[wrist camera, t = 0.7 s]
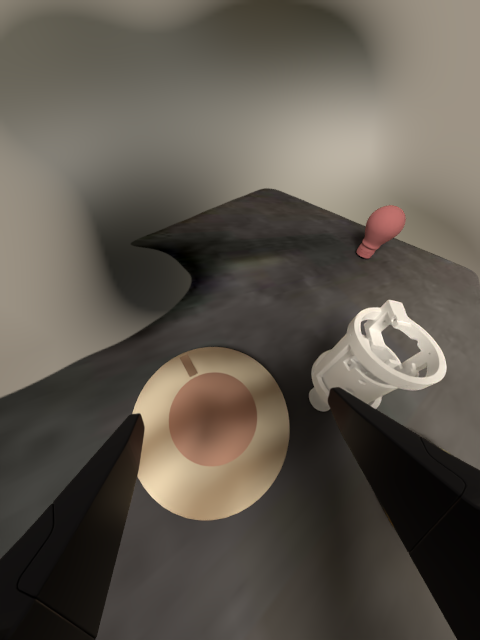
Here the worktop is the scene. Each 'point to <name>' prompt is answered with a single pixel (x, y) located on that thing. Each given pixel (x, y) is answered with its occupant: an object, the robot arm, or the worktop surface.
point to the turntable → (211, 433)
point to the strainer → (375, 360)
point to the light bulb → (381, 229)
